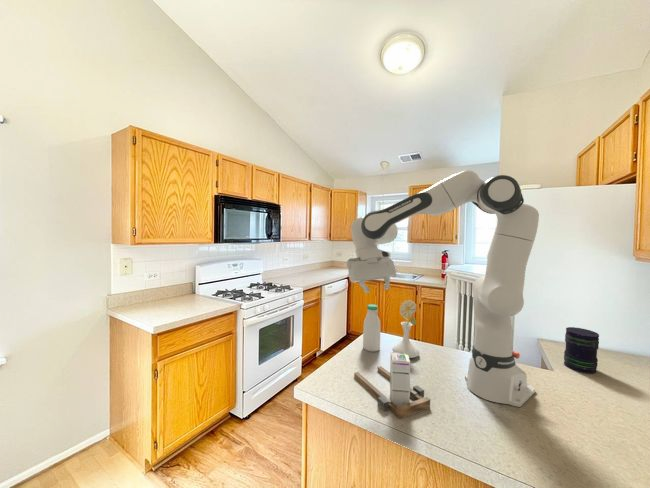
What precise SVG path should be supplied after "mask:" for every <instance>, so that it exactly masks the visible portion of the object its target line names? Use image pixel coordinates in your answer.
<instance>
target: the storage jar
mask: <svg viewBox="0 0 650 488" xmlns="http://www.w3.org/2000/svg"><path fill="white" fill-rule="evenodd" d="M564 335H565V336H564V342H565V350H564V352H563V354H564V355H563V365H564V366H565V367H566V368H568V369H570V370H572V371H575V372H578V373H581V374H586V375H587V374H588V375H595V374H596V373H597V369H598V368H597V367H598V361H599V360H598V350H599V347H600V346H599V344H600V334H599V333H598V332H597V331H596V332H595V331H593V330H590V329H586V328H582V327H575V326H573V327H572V326H571V327H570V326H569V327H567V326H566V328H565V334H564Z"/></svg>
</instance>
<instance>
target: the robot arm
mask: <svg viewBox="0 0 650 488" xmlns="http://www.w3.org/2000/svg"><path fill="white" fill-rule="evenodd" d="M470 202H471V203H472V204H473V205H475V207H477V208H478V209H479V210H480V211H482V212H483V213H485V214H491V215H492V214H493V215H494V214H495V215H496V217H497V221H496V222H497V223H496V227H495V231H494V234H493V236H492V240H491V243H490V246H489V249H488V252H487V255H486V259H487V260H486V268H485V274H484V275H483V274H482V275H481V276H478V277H477V278H476V279H475V280H474V282H473V284H472V294H473V296H472V300H473V317H474V333H473V334H474V335H473V336H474V339H473V345H472V348H471V357H470V358H469V364H468V370H467V373H465V374H464V379H465V381H466V387H467V388H468V390H469V391H471V393H473V394H475V395H476V396H477V397H480V398H481V399H484V400H486V401H490V402H493V403H497V404H506V405H510V406H513V407H518V408H519V407H522V406H523V405H524V404H525V403H526V402H527V401H528V400H529V399H530V398H531V397H532V396H533V395H534V394H535V393H536V388H534V386H532V385H531V384H530V383H528V379H527V378H528V376H527V375H528V374H527V373H526V371H524V369H523V368H521V367H520V366H519V365H518V364H517V363H516V359H517V360H518V359H519V358H521V354H520V352H518V351H515V350H513V349H514V348H513V346H514V345H513V344H514V328H513V324H512V318H511V317H513V316H516V315H518V313H519V314H520V312H521V311H522V309H523V308H524V305H525V301H524V300H525V299H524V287H525V280H526V279H525V277H526V270H527V269H526V268H527V265H528V261H529V258H530V255H531V253H532V252H531V251H532V249H533V245H534V242H535V240H536V237H537V233H538V227H539V219H540V213H539V211H538V209H536V208H535V207H533V206H532V205H530V204H526V203H525V199H524V196H523V193H522V190H521V186H520V184H519V182H518V181H517V180H516V179H515V178H513V177H512V176H510V175H506V174H499V175H498V174H497V175H494V176H492V177H490V178H488V179H487V180H482V179H481V178H480V176H479V175H478V174H477V173H476V172H474V171H473V170H469V169H468V170H467V169H465V170H463V171H460V172H456V173H454V174H451V175H450V176H448V177H446V178H444V179H443V180H440V181H438V182H437V183H435V184H433V185H432V186H429V187H428V188H426V189H424V190H422V191H420V192H418V193H415V194H413V195H409V197H406V198H405V199H402V200H399V201H398V202H396V203H393V204H391V205H390V206H388V207H386V208H383V209H378V210H374V211H369V212H368V213H366V214H365V216H361V217H358V218H356V219H354V221H352V223H351V225H350V234H351V237H352V242H353V244H354V246H355V254H356V257H350V258H349V259H347V261H346V267H347V271H348V278H349V281H350V282H351V283H352V284H353V283H359V286H360V287H361V288H362V289H363V292H364V293H365V294H367V293H370V292H371V291H370V290H371V289H370V287H369V286H367V285H366V282H369V281H376V280H382V279H383V281H384V282H385V283H384V285H383V289H384V290H390V289H391V287H390V282H391V278H394V277H396V275H397V270H396V267H395V266H396V265H395V264H394V261H393V259H391V253H390V252H389V251H385V250H382V249H380V248H378V245H384V244H389V243H391V242H393V241H394V240H395V239H396V238H397V236H398V232H399V231H398V226H397V225H396V224H397V223H400V222H402V221H404V220H405V219H408V218H411V217H413V216H416V215H428V216H434V217H438V216H441V215H445V214H447V213H450V212H451V211H453V210H456V209H457V208H459V207H461V206H462V205H465V204H467V203H470Z"/></svg>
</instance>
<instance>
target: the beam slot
mask: <svg viewBox="0 0 650 488" xmlns="http://www.w3.org/2000/svg"><path fill="white" fill-rule="evenodd" d="M377 371H378V373H380V374H381V375H382V376H384V377H385V378H386V379H387V380H389V381H390V371H388V370H387V369H385V368H384V367H383V366H381V365H380V366H377ZM354 378H355V379H356V380H357V381H358V382H359V383H361V385H363V387H365V388H366V390H368V391H369V392H370V393H371V394H372V395H373V396H374V397H375V398H376V399H377V406H378V408H380V409H381V410H382V411H383V412H386V411H388V410H389V411H390V412H391V413H392V414H393V415H394V416H396V417H397V418H398V419H399V420H401V419H403V418H405V417H408V416H411V415H414V414H416V413H418V412H419V413H420V412H422V411H424V410H427V409H430V408H431V398H429V397H427V396H426V397H425V389H424V388H422V387H420V386H419V385H414V386H412V388H413V389H412V388H411V387H410V398H412V399H413V400H414V401H410V403H407V404H404V405H401V406H396V405H395V404H394V403H392V401H391V400H390V397H387V396H386V395H385V394H384V393H382V392H381V391H380V390H379V389H378V388H377V387H375V386H374V384H372V383H371V382H370V381H368V379H367V378H366V377H365V376H363V374H361V373H360V372H358V371H356V372H354Z"/></svg>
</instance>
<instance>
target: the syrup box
mask: <svg viewBox="0 0 650 488" xmlns="http://www.w3.org/2000/svg"><path fill="white" fill-rule="evenodd" d="M389 366H390V368H389V369H390V370H389V373H390V380H389V399H390V400H391V401H392V403H394V404H395V405H396V406H397V407H398V406H401V405H404V404H407V403H410V402H411V399H410V398H411V397H410V388H411V360H410V358H409V356H408V354H404V353H394V352H390V365H389Z"/></svg>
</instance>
